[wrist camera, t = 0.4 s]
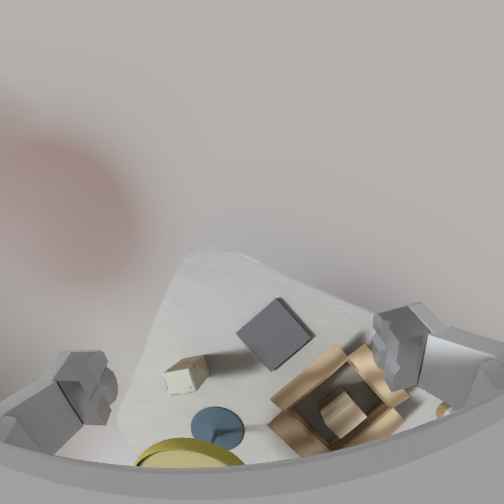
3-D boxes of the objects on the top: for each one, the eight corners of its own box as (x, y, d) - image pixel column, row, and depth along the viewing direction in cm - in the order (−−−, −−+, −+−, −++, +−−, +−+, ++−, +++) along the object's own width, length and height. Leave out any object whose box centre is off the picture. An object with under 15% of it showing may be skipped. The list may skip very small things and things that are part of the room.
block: (353, 399, 57) (367, 417, 47) (330, 418, 56) (340, 438, 47) (340, 384, 57) (352, 401, 47) (317, 404, 57) (325, 423, 47)
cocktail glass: (276, 412, 57) (280, 480, 32) (239, 475, 56) (225, 551, 31) (193, 375, 59) (149, 424, 34) (162, 441, 57) (116, 503, 33)
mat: (310, 336, 59) (311, 337, 58) (270, 370, 58) (270, 371, 57) (276, 298, 60) (276, 298, 59) (236, 332, 59) (235, 333, 58)
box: (204, 354, 59) (191, 367, 48) (210, 374, 59) (198, 392, 48) (179, 359, 59) (161, 373, 48) (185, 379, 59) (169, 396, 48)
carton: (407, 398, 56) (419, 407, 49) (324, 466, 55) (329, 481, 49) (343, 323, 59) (352, 327, 52) (254, 399, 58) (253, 411, 51)
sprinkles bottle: (451, 398, 55) (483, 416, 42) (451, 415, 54) (481, 435, 41) (435, 404, 55) (466, 425, 42) (435, 421, 55) (464, 444, 41)
